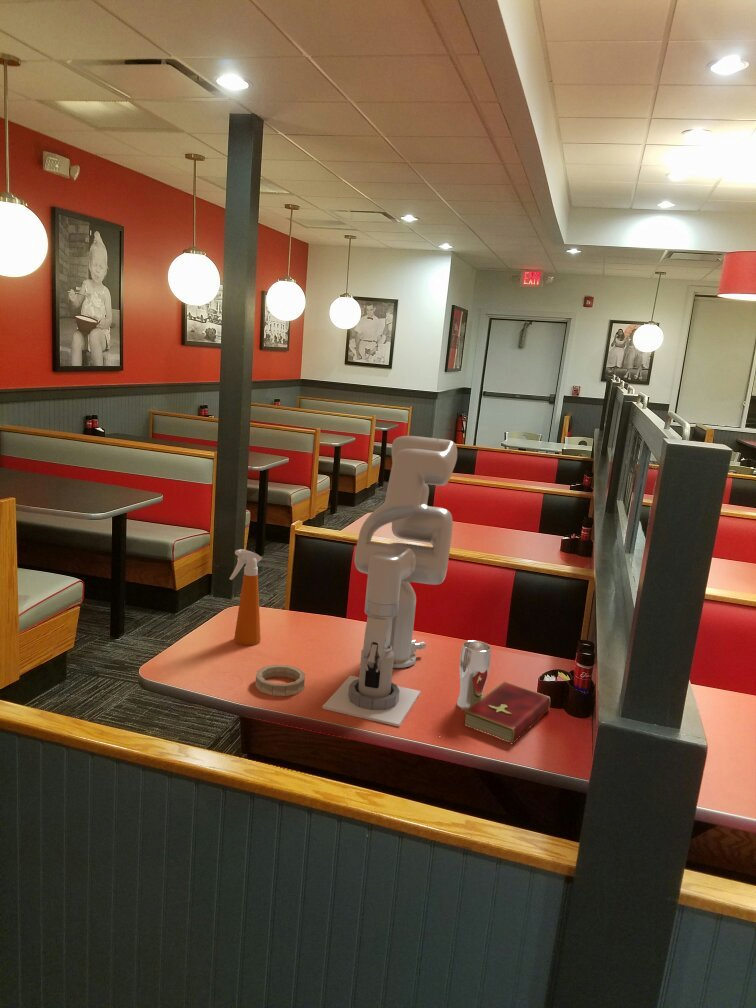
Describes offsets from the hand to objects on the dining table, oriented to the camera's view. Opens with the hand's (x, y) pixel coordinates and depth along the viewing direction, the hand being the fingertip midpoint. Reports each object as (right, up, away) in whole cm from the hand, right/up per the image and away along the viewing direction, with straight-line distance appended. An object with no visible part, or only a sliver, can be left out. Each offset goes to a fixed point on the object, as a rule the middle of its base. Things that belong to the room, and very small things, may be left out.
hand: (375, 679), depth 168 cm
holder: (-1, -5, +1) cm, 5 cm away
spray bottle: (-36, +3, +28) cm, 45 cm away
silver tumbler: (+22, -7, +3) cm, 23 cm away
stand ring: (-23, -2, +5) cm, 23 cm away
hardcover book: (+30, -9, -2) cm, 31 cm away
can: (0, -4, +1) cm, 4 cm away
